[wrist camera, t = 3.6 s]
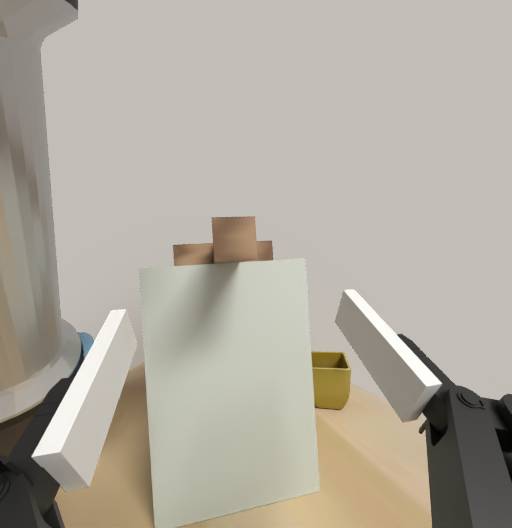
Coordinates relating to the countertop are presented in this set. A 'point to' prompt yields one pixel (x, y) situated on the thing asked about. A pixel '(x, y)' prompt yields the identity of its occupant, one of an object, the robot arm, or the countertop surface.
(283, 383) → the stand
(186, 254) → the T-bar
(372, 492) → the countertop surface
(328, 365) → the flower pot
